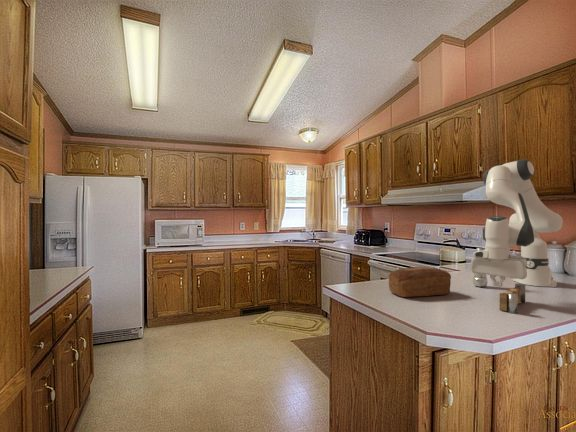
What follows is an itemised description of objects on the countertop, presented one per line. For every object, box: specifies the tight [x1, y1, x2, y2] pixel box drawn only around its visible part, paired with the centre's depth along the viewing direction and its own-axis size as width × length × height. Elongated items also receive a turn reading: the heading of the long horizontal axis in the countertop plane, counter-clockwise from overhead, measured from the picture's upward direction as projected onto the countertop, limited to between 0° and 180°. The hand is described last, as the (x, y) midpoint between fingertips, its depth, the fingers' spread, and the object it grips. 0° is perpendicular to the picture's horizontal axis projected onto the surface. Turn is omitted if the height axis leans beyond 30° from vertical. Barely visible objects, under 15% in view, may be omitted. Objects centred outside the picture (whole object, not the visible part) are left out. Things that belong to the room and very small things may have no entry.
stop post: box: [507, 293, 519, 315], centre depth 117 cm, size 3×3×7 cm
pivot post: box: [514, 282, 526, 304], centre depth 131 cm, size 4×4×8 cm
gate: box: [499, 286, 522, 312], centre depth 124 cm, size 18×2×6 cm, turn 128°
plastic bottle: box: [472, 247, 488, 288], centre depth 158 cm, size 6×7×20 cm
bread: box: [388, 266, 452, 298], centre depth 144 cm, size 14×28×12 cm, turn 104°
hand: (497, 286), depth 132 cm, fingers closed
